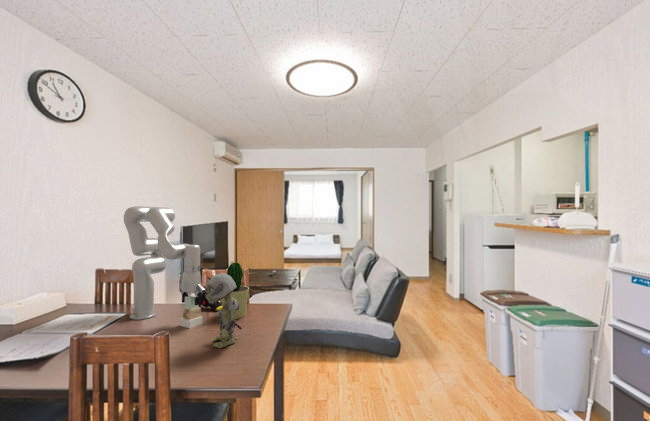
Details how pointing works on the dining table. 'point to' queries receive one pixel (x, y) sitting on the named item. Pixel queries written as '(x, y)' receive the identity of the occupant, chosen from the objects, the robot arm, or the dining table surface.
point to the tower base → (191, 322)
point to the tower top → (191, 313)
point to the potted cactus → (238, 289)
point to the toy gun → (206, 303)
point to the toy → (217, 290)
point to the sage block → (190, 302)
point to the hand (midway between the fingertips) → (191, 303)
